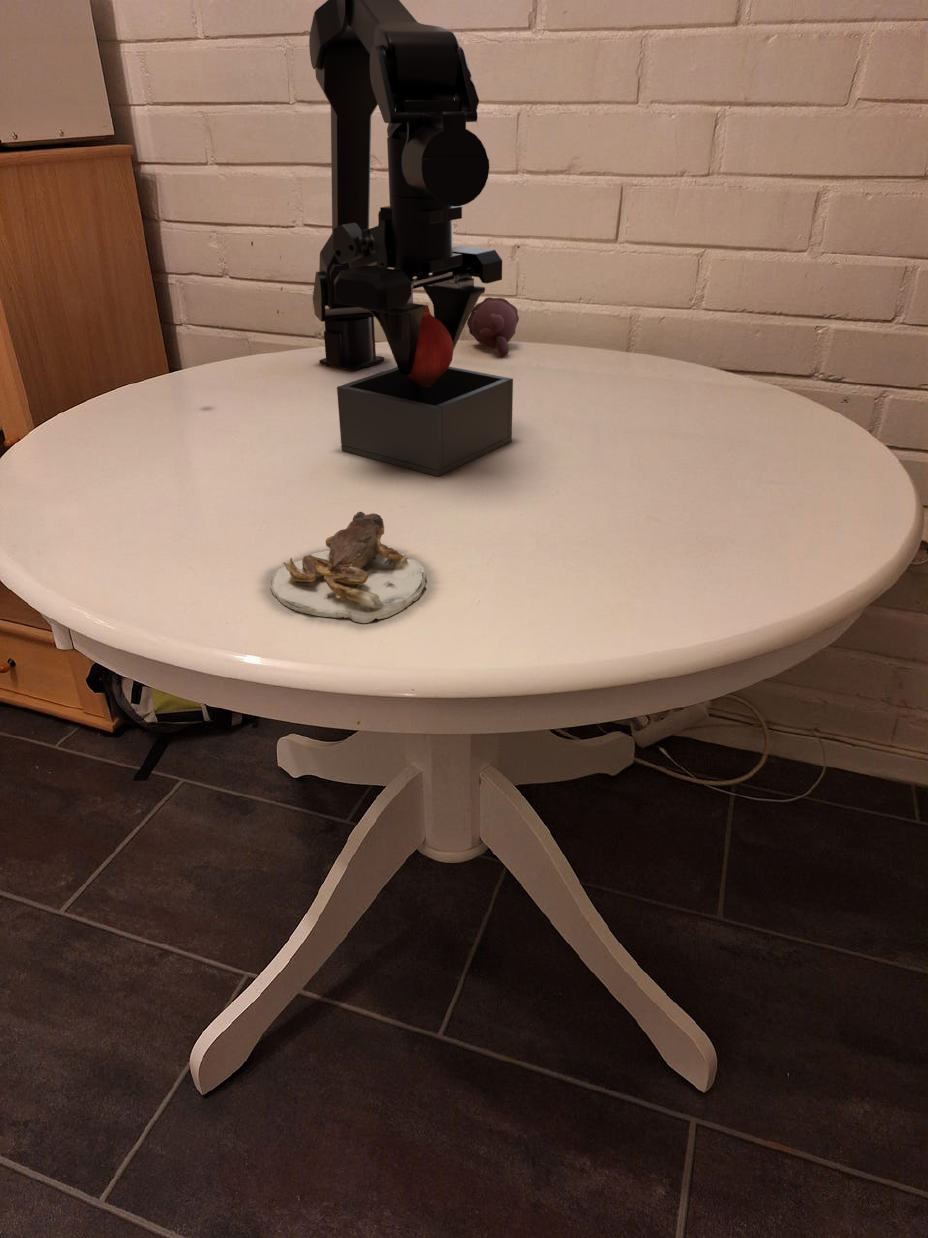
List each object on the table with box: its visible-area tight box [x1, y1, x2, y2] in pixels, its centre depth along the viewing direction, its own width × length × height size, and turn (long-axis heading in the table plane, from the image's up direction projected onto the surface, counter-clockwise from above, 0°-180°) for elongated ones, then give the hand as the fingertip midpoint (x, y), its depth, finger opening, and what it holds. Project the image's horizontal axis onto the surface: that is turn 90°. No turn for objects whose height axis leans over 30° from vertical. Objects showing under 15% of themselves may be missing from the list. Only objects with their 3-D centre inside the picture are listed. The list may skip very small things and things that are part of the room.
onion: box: [407, 304, 455, 388], centre depth 89 cm, size 6×6×8 cm
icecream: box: [466, 296, 520, 358], centre depth 129 cm, size 7×7×15 cm
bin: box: [336, 366, 514, 477], centre depth 92 cm, size 13×13×7 cm
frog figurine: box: [270, 511, 427, 624], centre depth 67 cm, size 12×12×4 cm
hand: (425, 367), depth 90 cm, fingers closed on onion, 6 cm apart
